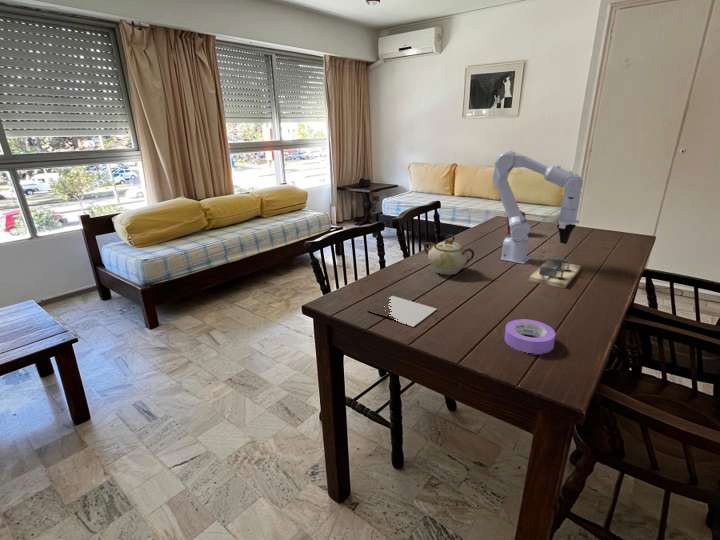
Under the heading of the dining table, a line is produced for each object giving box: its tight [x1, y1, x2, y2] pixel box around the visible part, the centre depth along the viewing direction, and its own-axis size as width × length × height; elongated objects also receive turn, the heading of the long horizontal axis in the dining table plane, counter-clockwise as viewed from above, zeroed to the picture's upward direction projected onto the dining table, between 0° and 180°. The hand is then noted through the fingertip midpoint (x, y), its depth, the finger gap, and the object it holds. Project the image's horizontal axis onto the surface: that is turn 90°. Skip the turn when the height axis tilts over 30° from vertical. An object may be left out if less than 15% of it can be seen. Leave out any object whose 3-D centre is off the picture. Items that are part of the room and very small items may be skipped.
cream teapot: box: [423, 233, 475, 276], centre depth 144 cm, size 20×15×15 cm
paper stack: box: [384, 295, 437, 328], centre depth 117 cm, size 23×25×1 cm
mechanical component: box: [504, 209, 527, 234], centre depth 193 cm, size 12×10×10 cm
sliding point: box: [547, 255, 572, 269], centre depth 141 cm, size 8×3×3 cm, turn 50°
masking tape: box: [504, 318, 556, 355], centre depth 97 cm, size 12×12×4 cm
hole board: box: [528, 259, 582, 289], centre depth 140 cm, size 12×23×5 cm, turn 140°
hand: (563, 243), depth 146 cm, fingers closed
